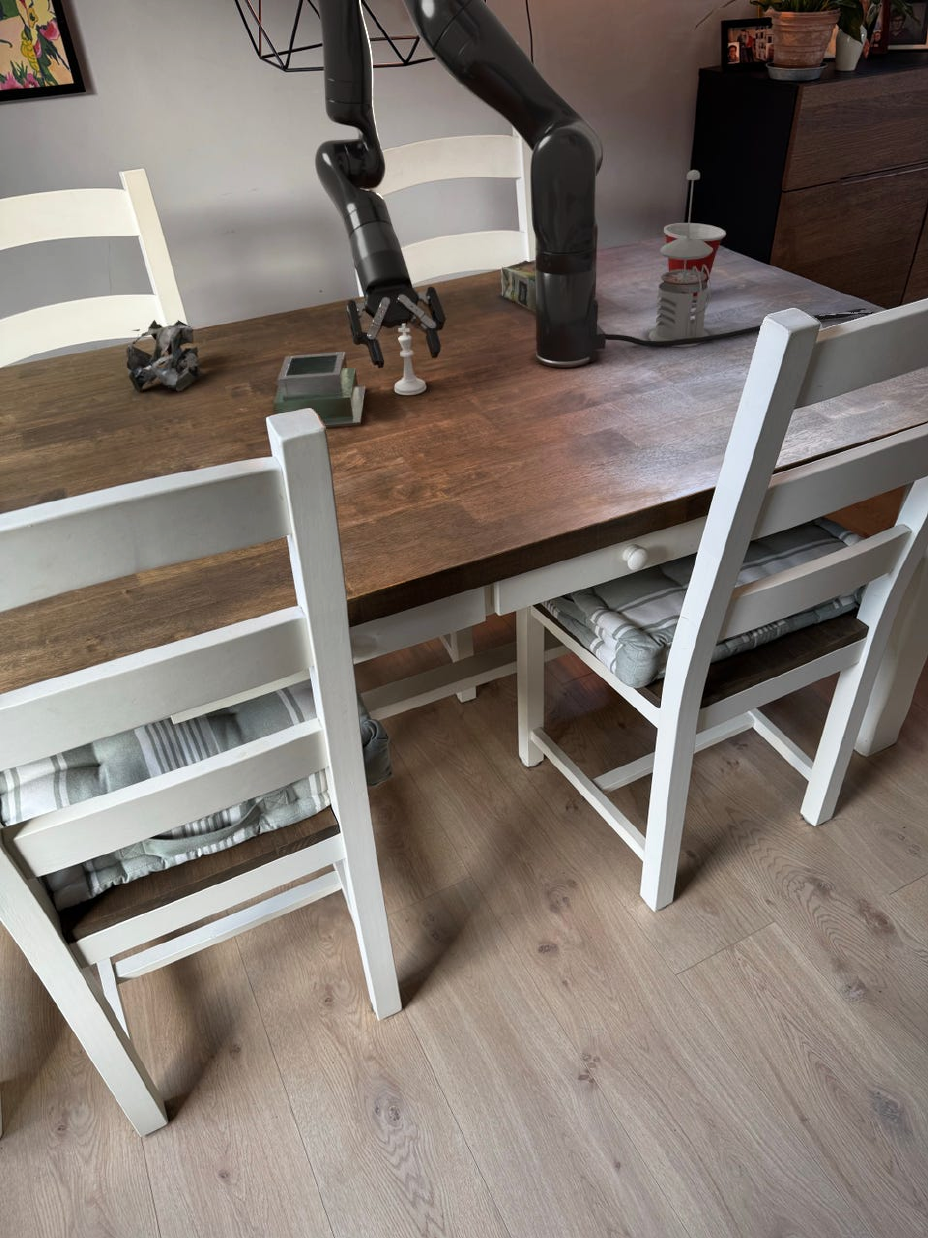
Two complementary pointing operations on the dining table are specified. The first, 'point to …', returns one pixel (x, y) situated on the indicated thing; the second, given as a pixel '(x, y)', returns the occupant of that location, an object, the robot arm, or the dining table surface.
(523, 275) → the juice carton
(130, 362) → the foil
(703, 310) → the french press
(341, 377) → the stand
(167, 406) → the dining table surface
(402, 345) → the chess piece
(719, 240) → the plastic cup
